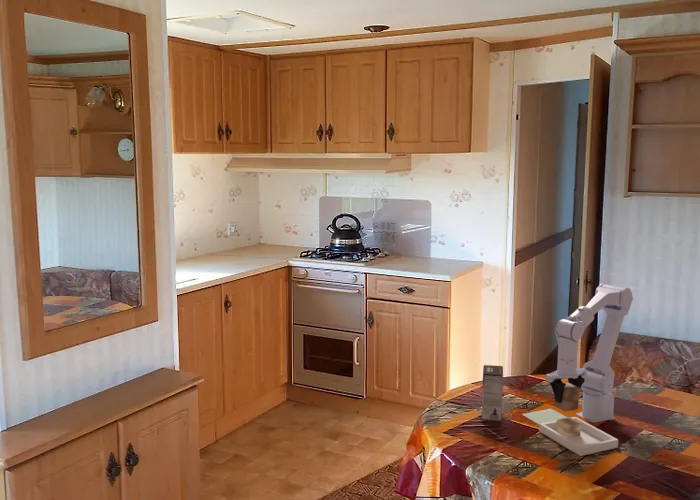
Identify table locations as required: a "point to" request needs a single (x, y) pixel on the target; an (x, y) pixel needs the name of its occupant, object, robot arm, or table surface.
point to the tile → (544, 416)
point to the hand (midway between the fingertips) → (565, 400)
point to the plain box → (568, 427)
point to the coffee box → (492, 392)
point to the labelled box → (569, 398)
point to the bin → (581, 438)
